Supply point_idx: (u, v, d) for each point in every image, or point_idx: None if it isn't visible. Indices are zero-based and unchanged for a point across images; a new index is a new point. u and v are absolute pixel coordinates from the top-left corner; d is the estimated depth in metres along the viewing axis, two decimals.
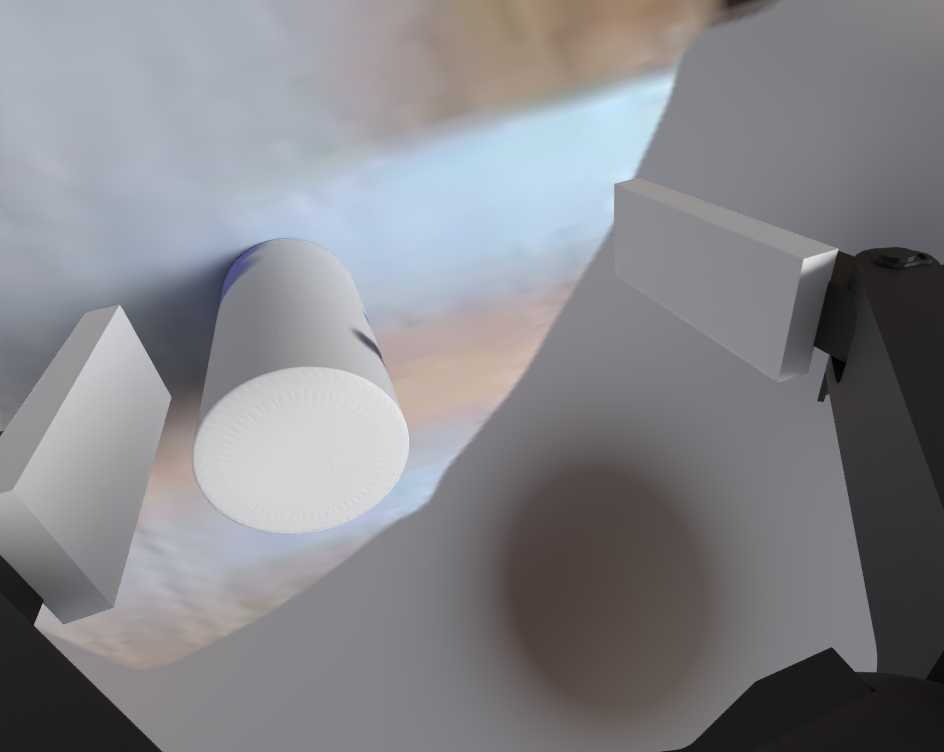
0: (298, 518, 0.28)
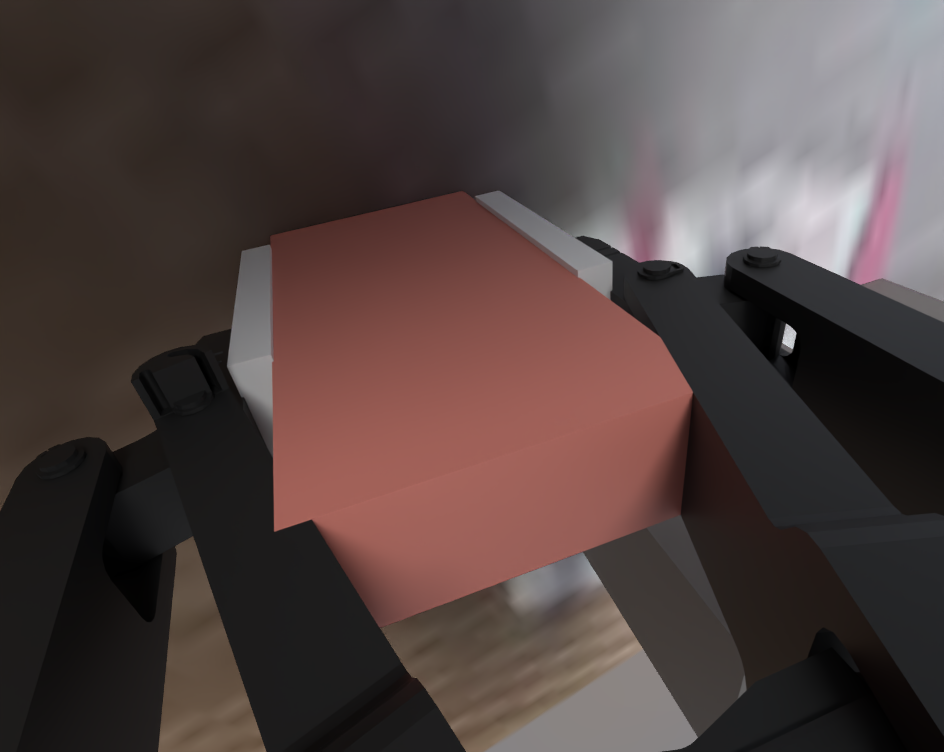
0: None
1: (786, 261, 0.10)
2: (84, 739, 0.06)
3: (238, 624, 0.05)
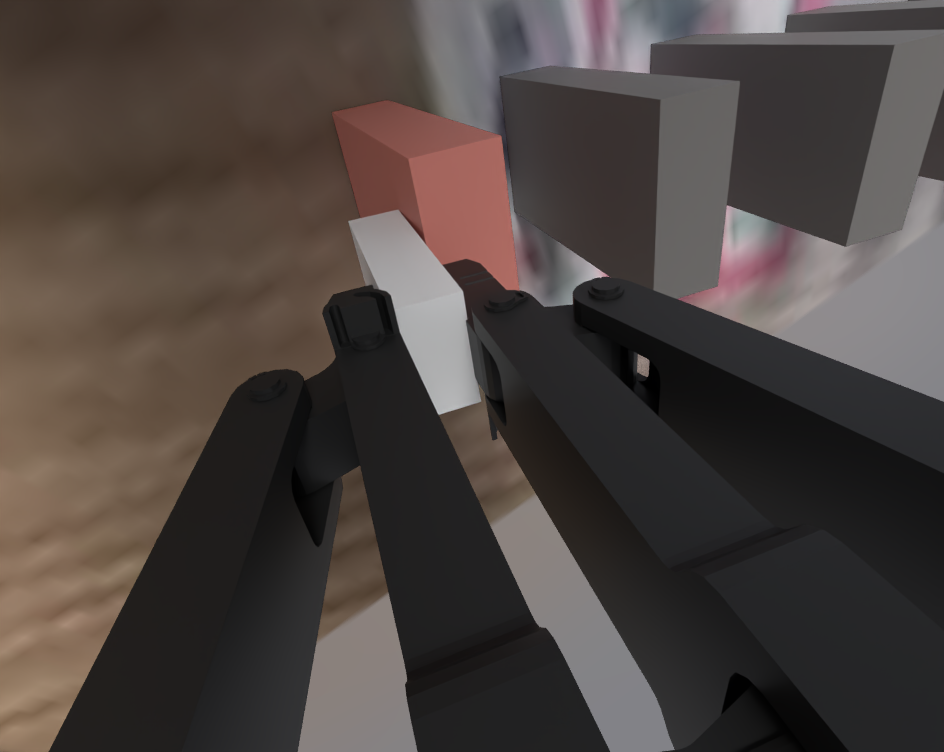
0: None
1: (629, 290, 0.10)
2: (263, 640, 0.06)
3: (388, 540, 0.06)
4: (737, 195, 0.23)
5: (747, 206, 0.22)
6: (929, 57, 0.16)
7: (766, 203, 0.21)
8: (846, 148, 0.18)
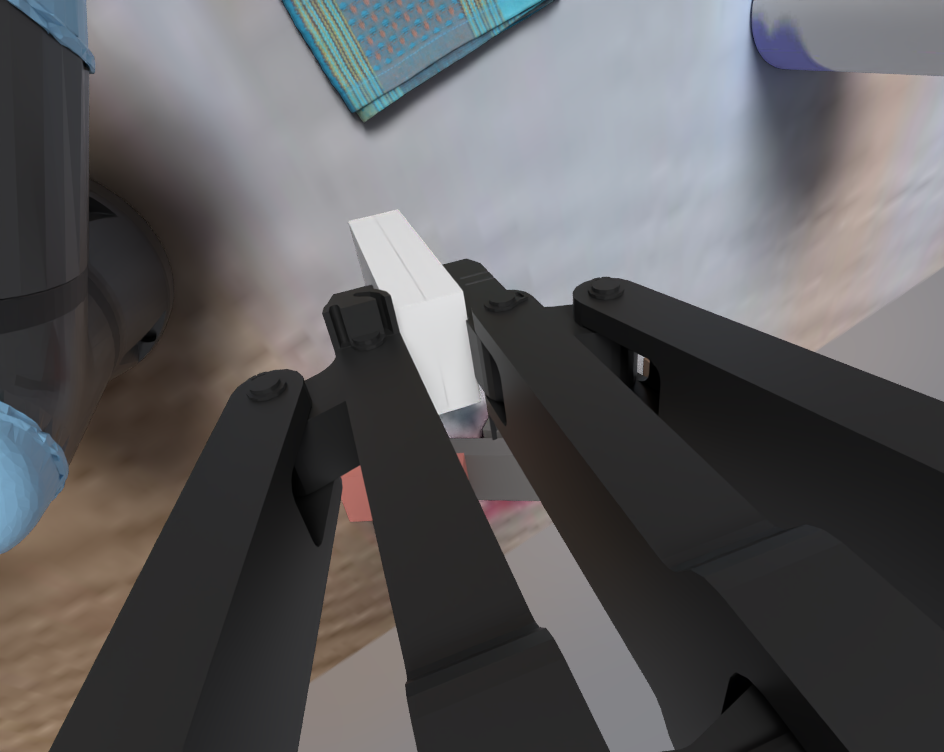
0: None
1: (629, 290, 0.10)
2: (264, 640, 0.06)
3: (388, 540, 0.06)
4: None
5: None
6: None
7: None
8: None
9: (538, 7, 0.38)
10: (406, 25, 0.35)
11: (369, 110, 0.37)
